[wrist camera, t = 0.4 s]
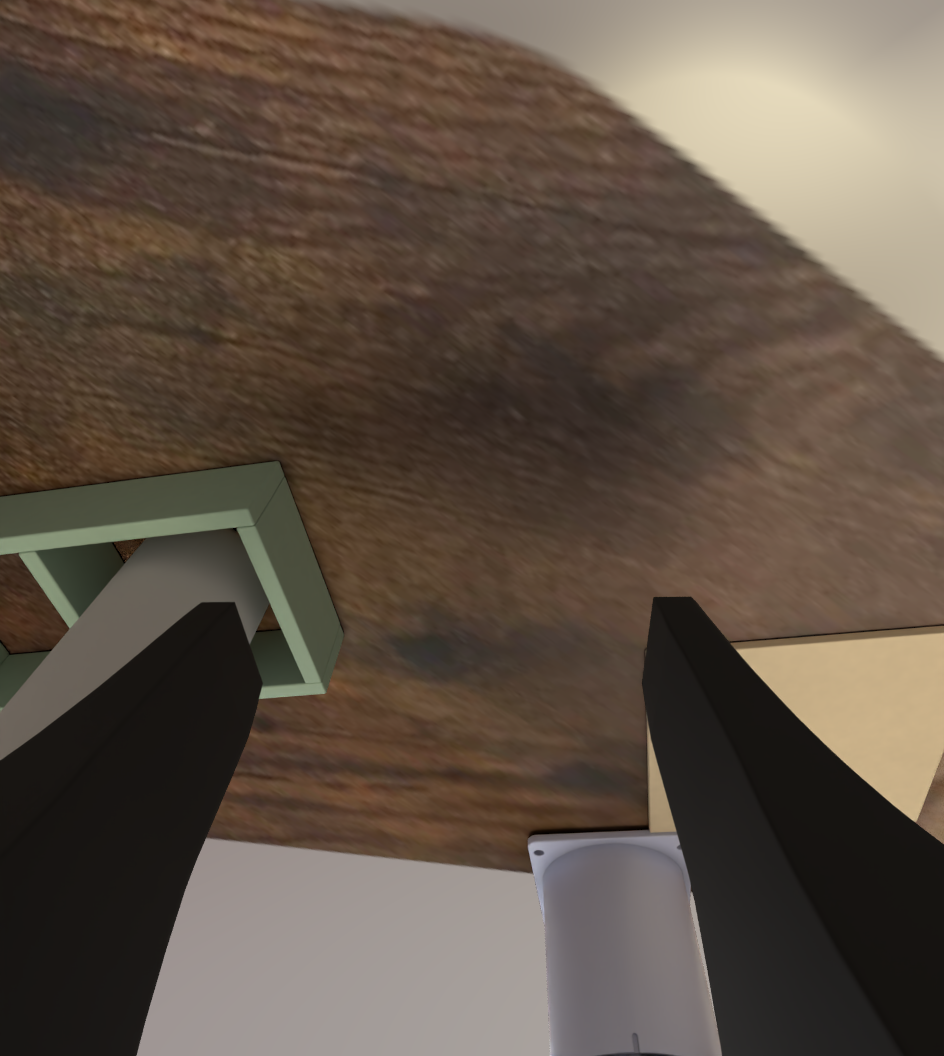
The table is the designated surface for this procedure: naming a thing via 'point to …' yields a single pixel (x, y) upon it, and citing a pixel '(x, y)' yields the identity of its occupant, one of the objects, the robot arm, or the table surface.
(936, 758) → the mat
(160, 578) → the beverage can
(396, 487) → the table surface
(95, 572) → the divided storage tray
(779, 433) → the table surface
